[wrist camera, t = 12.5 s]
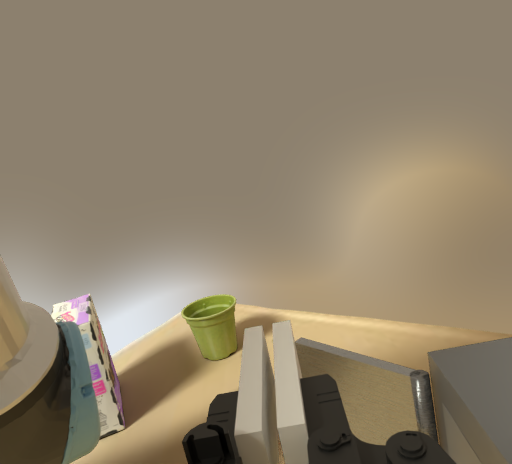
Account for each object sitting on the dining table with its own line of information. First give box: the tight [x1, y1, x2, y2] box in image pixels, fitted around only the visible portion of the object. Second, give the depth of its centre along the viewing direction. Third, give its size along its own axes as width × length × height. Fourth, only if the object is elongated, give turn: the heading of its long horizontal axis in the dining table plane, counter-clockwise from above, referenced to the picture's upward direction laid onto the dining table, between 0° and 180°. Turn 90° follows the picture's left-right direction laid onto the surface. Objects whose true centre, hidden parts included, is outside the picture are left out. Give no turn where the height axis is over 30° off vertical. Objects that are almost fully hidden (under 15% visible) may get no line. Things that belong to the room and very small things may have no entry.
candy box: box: [51, 294, 125, 438], centre depth 61 cm, size 14×6×16 cm, turn 21°
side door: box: [295, 338, 438, 445], centre depth 38 cm, size 13×2×13 cm, turn 43°
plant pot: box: [181, 294, 237, 360], centre depth 73 cm, size 9×9×9 cm
